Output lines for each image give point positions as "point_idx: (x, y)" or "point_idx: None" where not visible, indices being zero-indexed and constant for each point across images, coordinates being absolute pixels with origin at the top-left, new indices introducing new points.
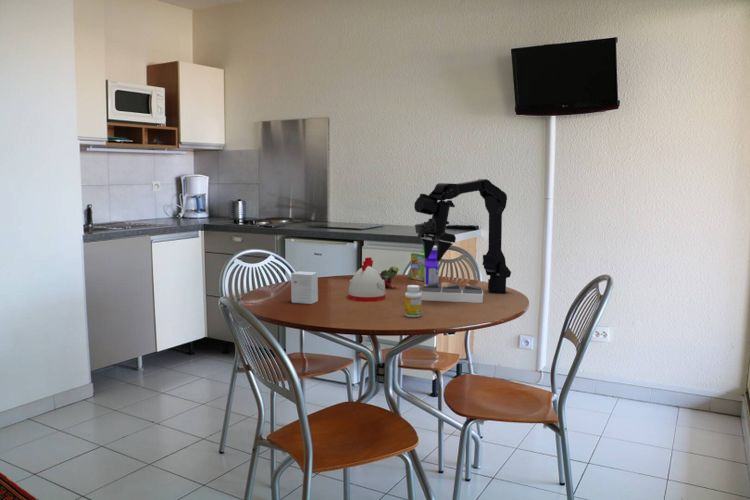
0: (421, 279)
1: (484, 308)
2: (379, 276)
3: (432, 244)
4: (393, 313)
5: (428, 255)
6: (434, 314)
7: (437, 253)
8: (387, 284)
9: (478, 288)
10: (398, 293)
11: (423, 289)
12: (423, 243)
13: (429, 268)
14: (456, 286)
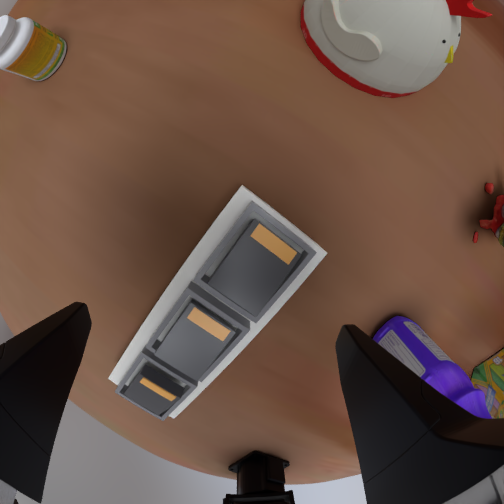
0: (484, 364)
1: None
2: (379, 14)
3: (376, 490)
4: (95, 15)
5: (342, 370)
6: (30, 124)
7: (31, 333)
8: (493, 217)
9: (131, 396)
10: (404, 185)
11: (245, 209)
12: (466, 422)
13: (423, 372)
14: (160, 345)
